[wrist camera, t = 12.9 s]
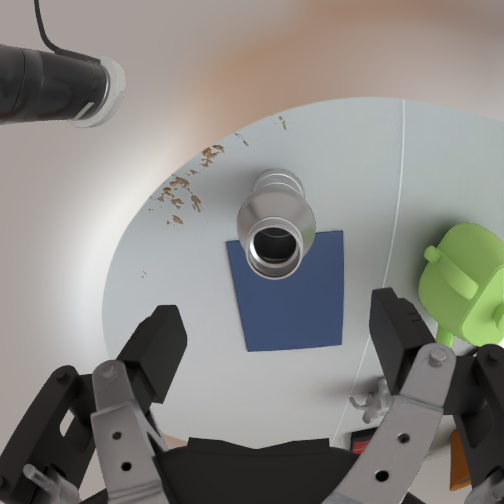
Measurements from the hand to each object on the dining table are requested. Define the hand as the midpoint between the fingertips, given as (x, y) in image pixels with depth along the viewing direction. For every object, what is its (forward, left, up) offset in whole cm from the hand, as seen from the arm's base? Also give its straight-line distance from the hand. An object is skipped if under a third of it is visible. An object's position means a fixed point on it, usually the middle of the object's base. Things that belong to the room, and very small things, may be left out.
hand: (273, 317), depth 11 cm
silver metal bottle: (0, 0, -27) cm, 27 cm away
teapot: (+17, +28, -27) cm, 42 cm away
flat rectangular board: (+16, 0, -27) cm, 31 cm away
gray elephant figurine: (+40, +16, -27) cm, 51 cm away
